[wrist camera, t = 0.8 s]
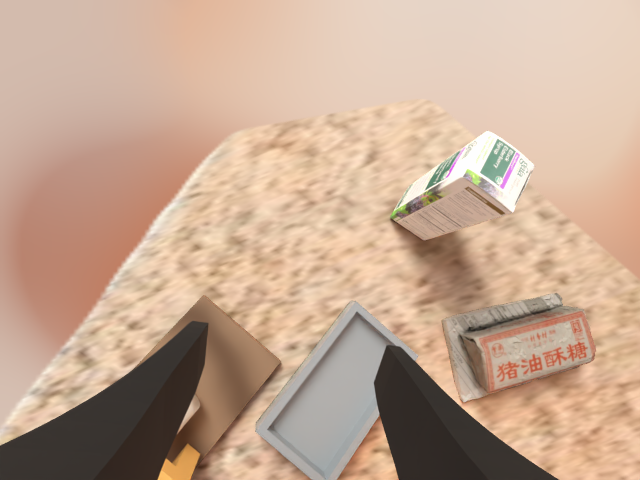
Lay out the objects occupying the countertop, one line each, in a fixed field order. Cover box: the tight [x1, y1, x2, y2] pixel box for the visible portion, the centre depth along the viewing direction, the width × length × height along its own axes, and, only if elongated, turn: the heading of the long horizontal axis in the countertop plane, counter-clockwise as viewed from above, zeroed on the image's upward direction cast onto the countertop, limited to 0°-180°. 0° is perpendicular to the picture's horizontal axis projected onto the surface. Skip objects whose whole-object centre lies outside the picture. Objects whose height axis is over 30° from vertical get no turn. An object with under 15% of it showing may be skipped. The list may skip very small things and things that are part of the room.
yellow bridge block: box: [158, 444, 200, 480], centre depth 26 cm, size 2×10×6 cm, turn 50°
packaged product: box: [442, 293, 596, 402], centre depth 37 cm, size 18×5×10 cm
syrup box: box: [390, 131, 535, 241], centre depth 32 cm, size 6×6×14 cm
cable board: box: [134, 295, 280, 470], centre depth 30 cm, size 22×11×1 cm, turn 140°
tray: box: [255, 301, 418, 480], centre depth 33 cm, size 17×10×2 cm, turn 140°
